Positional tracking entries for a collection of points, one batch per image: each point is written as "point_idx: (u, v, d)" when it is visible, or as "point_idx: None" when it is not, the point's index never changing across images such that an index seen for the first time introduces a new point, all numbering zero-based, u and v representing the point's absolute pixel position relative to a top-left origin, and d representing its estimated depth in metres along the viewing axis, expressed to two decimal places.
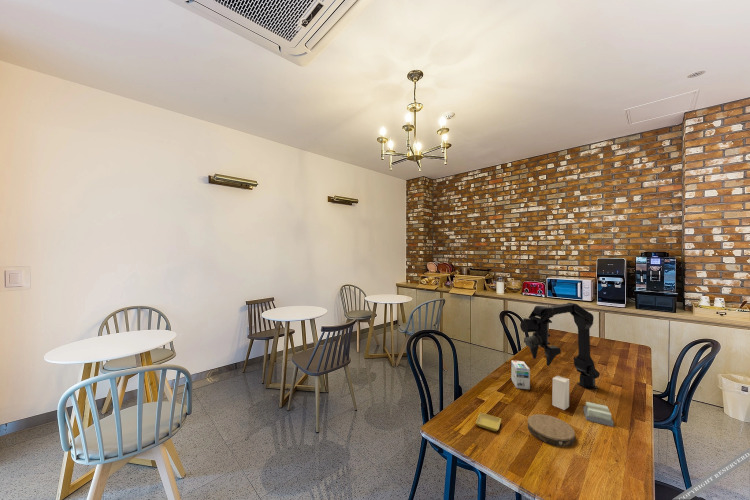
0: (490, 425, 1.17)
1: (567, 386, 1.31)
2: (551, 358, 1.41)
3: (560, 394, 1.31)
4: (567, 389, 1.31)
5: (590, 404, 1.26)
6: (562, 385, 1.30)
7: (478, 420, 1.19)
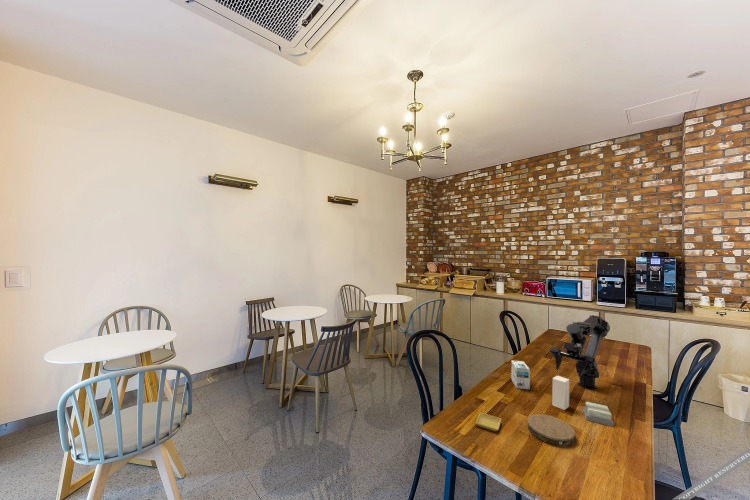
0: (490, 425, 1.17)
1: (567, 386, 1.31)
2: (584, 370, 1.34)
3: (560, 394, 1.31)
4: (567, 389, 1.31)
5: (590, 403, 1.26)
6: (562, 385, 1.30)
7: (478, 420, 1.19)
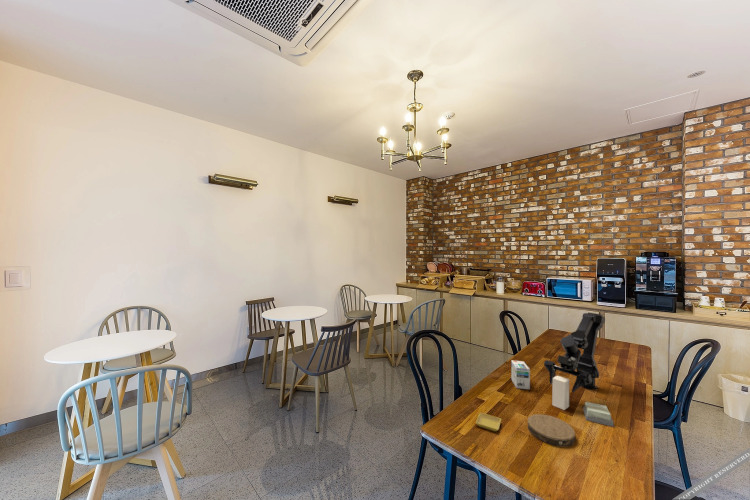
0: (490, 425, 1.17)
1: (567, 386, 1.31)
2: (578, 385, 1.30)
3: (560, 394, 1.31)
4: (567, 389, 1.31)
5: (589, 404, 1.26)
6: (562, 385, 1.30)
7: (478, 420, 1.19)
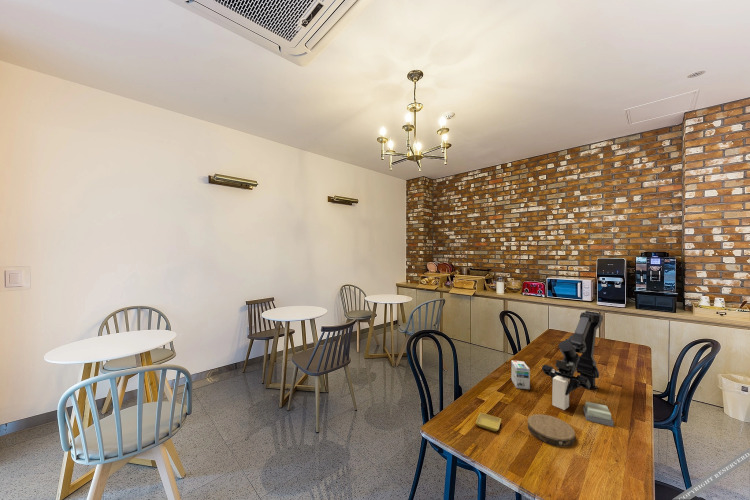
0: (490, 425, 1.17)
1: (567, 386, 1.31)
2: (572, 388, 1.31)
3: (560, 394, 1.31)
4: None
5: (590, 403, 1.26)
6: (562, 385, 1.30)
7: (478, 420, 1.19)
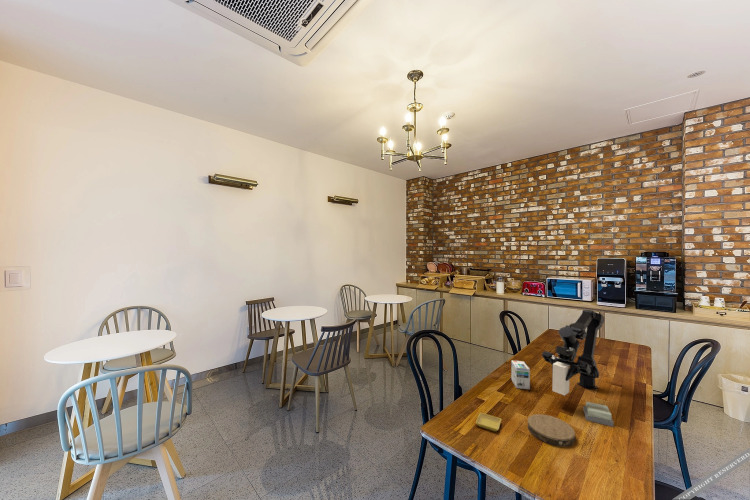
0: (490, 425, 1.17)
1: (567, 372, 1.31)
2: (572, 374, 1.31)
3: (560, 380, 1.30)
4: None
5: (590, 403, 1.26)
6: (563, 370, 1.30)
7: (478, 420, 1.19)
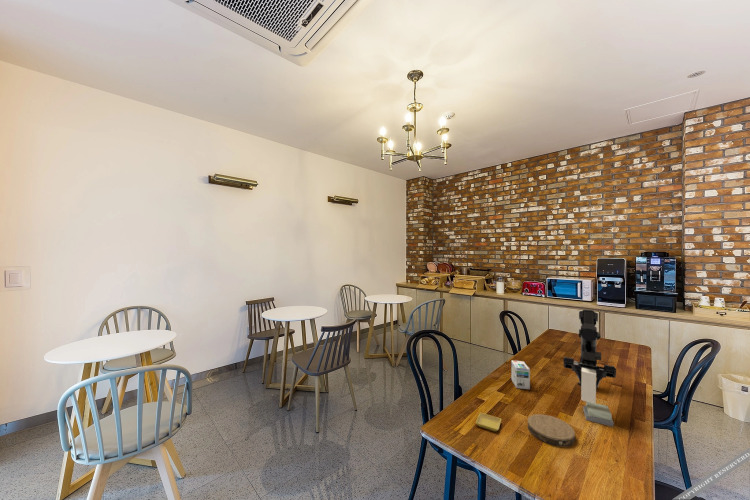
0: (490, 425, 1.17)
1: None
2: (599, 379, 1.25)
3: (591, 387, 1.23)
4: None
5: (590, 403, 1.26)
6: (594, 377, 1.22)
7: (478, 420, 1.19)
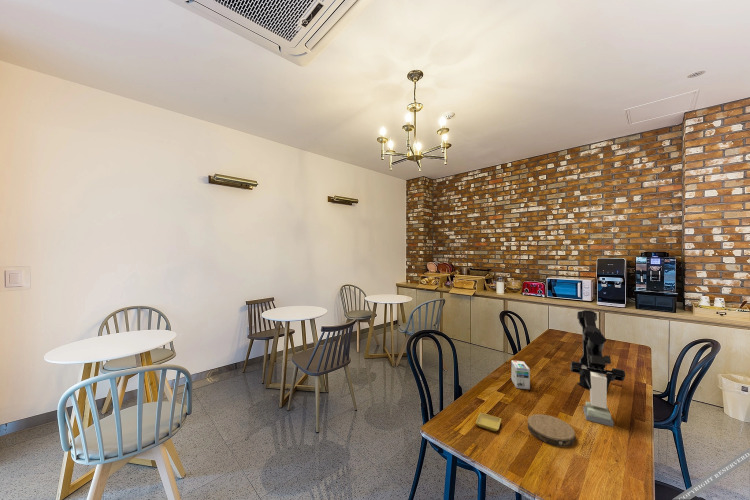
0: (490, 425, 1.17)
1: None
2: (608, 383, 1.23)
3: (601, 392, 1.21)
4: None
5: (590, 403, 1.26)
6: (604, 382, 1.20)
7: (478, 420, 1.19)
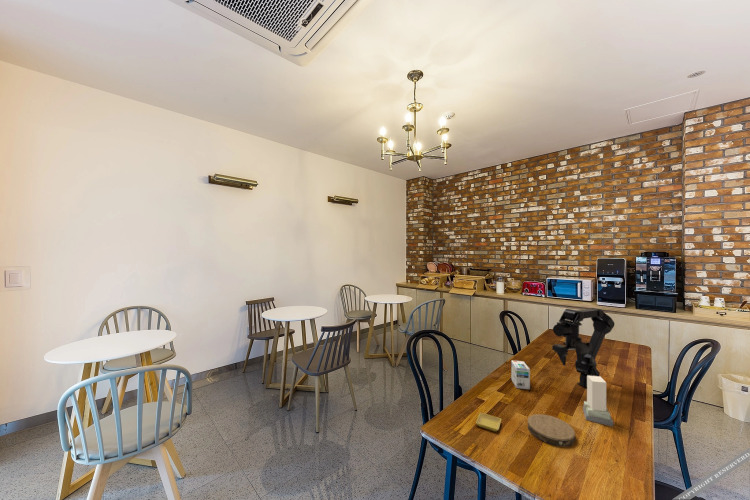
0: (490, 425, 1.17)
1: None
2: None
3: (601, 396, 1.20)
4: None
5: None
6: (604, 386, 1.20)
7: (478, 420, 1.19)
